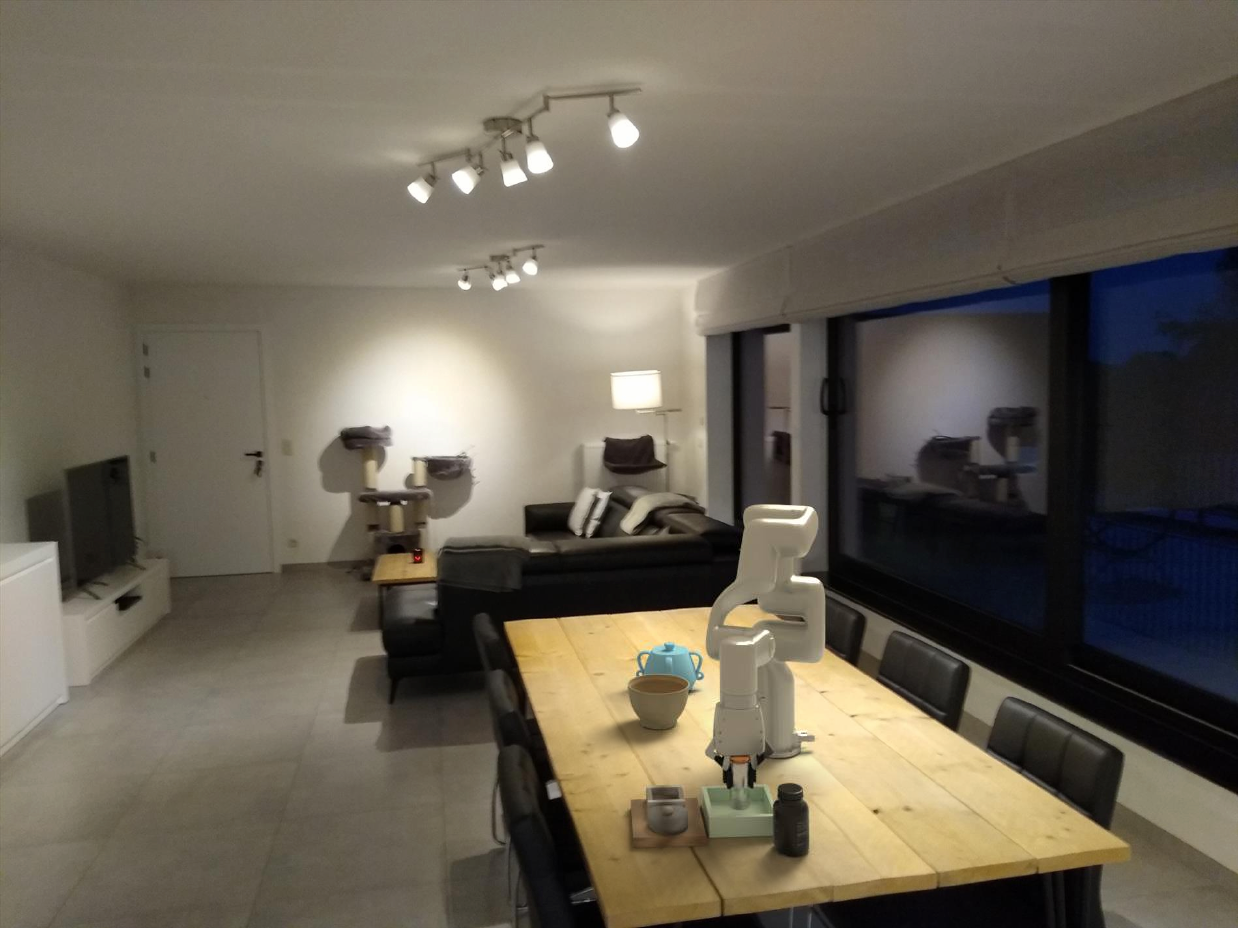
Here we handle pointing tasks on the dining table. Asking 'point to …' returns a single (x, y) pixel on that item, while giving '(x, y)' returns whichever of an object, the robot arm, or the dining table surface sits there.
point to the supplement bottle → (790, 821)
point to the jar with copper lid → (739, 782)
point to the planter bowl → (658, 699)
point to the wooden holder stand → (666, 819)
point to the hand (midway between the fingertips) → (739, 784)
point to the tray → (737, 812)
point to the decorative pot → (671, 662)
